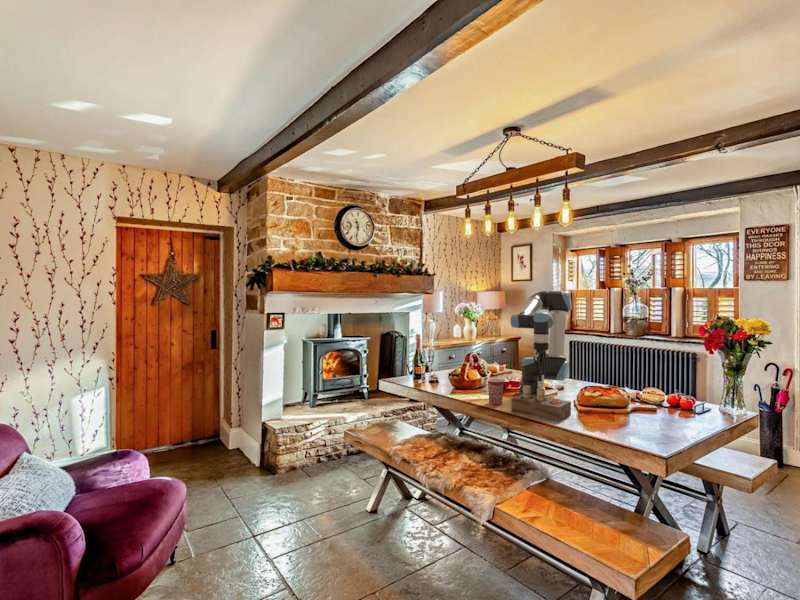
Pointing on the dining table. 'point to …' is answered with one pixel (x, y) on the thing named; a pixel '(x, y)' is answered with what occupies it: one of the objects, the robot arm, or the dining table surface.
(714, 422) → the dining table surface
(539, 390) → the plug mid
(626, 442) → the dining table surface
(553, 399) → the plug
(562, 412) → the socket board
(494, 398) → the mug
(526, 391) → the plug
